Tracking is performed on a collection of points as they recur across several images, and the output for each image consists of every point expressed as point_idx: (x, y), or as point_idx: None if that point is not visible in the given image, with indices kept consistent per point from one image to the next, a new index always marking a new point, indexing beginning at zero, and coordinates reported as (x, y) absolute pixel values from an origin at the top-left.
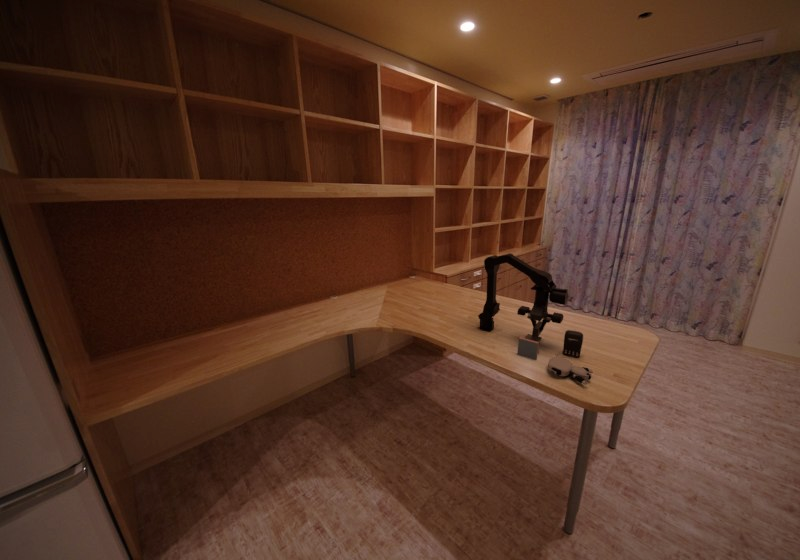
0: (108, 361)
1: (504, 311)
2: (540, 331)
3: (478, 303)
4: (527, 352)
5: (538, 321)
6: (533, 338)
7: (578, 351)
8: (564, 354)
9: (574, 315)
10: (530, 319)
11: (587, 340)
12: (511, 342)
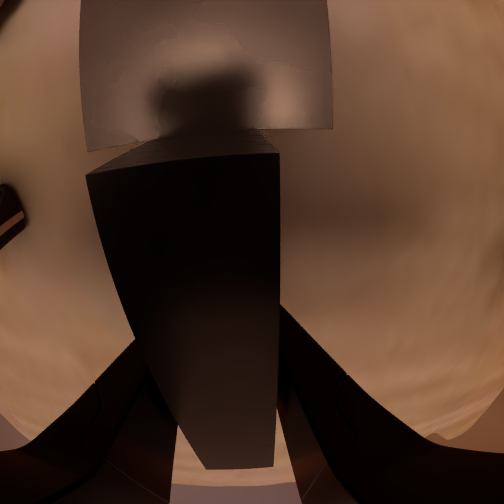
0: None
1: (437, 413)
2: None
3: (499, 389)
4: None
5: (271, 460)
6: (184, 10)
7: None
8: (4, 184)
9: (208, 485)
10: (455, 452)
11: (63, 396)
12: (416, 106)
